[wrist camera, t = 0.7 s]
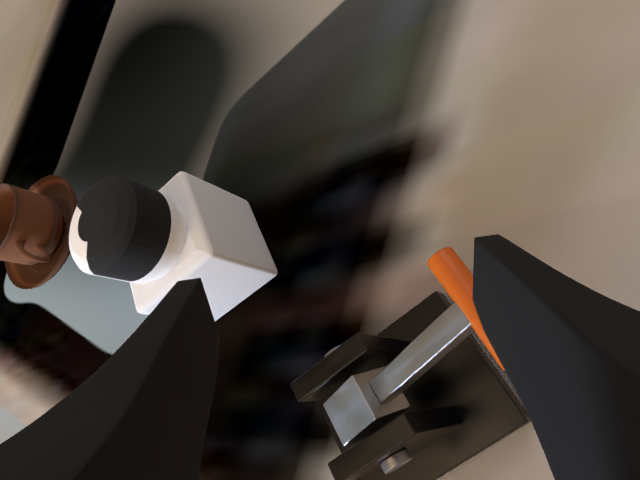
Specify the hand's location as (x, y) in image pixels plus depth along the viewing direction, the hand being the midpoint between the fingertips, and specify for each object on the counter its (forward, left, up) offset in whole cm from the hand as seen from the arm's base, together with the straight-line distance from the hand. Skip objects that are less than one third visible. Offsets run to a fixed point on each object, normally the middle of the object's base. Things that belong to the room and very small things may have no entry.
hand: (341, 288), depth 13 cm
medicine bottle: (+16, +13, -17) cm, 27 cm away
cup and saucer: (+34, +31, -17) cm, 49 cm away
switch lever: (0, +2, -11) cm, 11 cm away
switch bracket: (0, +6, -17) cm, 18 cm away
